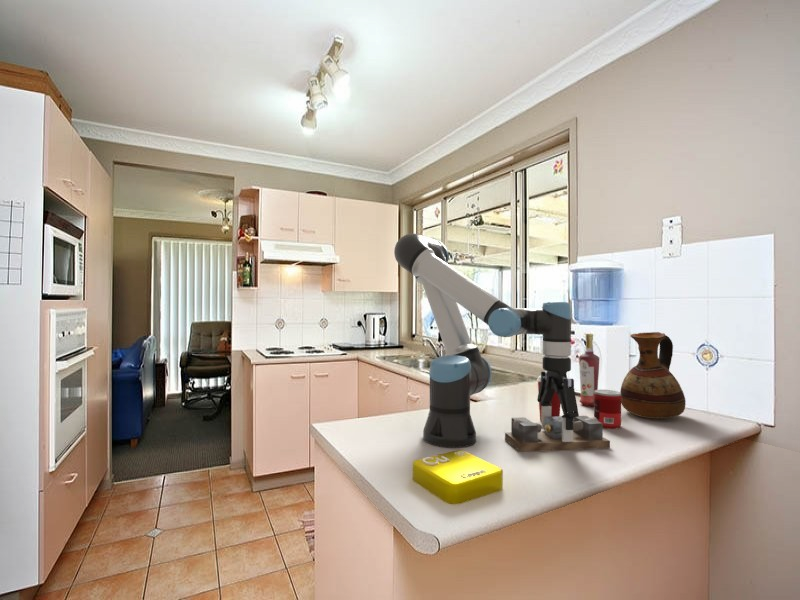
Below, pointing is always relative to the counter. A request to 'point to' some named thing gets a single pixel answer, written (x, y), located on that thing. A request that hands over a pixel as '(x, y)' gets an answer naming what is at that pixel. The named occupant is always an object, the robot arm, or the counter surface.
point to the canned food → (608, 408)
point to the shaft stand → (533, 439)
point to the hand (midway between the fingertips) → (556, 434)
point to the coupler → (553, 427)
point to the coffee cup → (555, 403)
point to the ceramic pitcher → (652, 380)
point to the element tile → (457, 476)
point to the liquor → (588, 373)
